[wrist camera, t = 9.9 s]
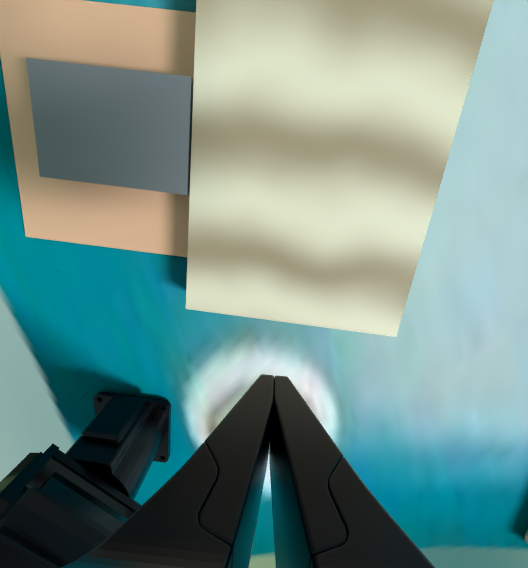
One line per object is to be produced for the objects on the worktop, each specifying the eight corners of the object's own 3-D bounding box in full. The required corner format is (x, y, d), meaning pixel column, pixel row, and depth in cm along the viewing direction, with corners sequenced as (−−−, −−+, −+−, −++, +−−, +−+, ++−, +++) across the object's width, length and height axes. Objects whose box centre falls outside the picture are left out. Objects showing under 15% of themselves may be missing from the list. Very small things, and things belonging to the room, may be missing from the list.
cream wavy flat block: (382, 320, 20) (396, 336, 18) (196, 296, 21) (185, 308, 18) (475, -25, 14) (513, -69, 12) (213, -51, 15) (199, -99, 12)
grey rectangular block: (197, 195, 18) (186, 195, 16) (64, 179, 18) (39, 176, 16) (201, 91, 16) (191, 76, 15) (55, 74, 17) (26, 57, 15)
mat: (198, 257, 20) (196, 258, 19) (30, 236, 20) (25, 236, 20) (209, 18, 16) (208, 13, 15) (-2, -5, 16) (-9, -10, 16)
